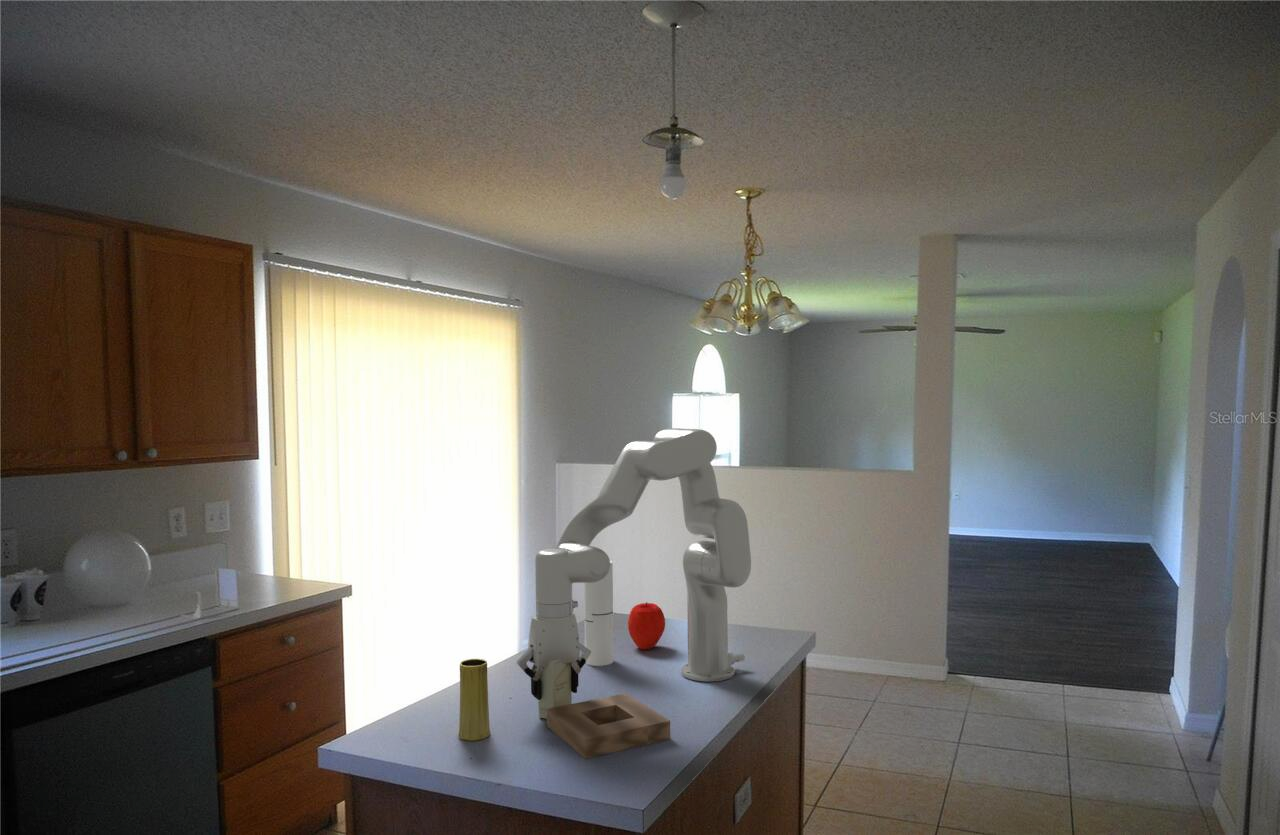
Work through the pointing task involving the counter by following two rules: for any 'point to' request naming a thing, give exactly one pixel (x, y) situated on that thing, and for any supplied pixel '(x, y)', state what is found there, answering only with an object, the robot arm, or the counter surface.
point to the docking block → (607, 725)
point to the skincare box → (555, 686)
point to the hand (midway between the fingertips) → (555, 693)
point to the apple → (646, 625)
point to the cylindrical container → (599, 620)
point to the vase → (473, 700)
